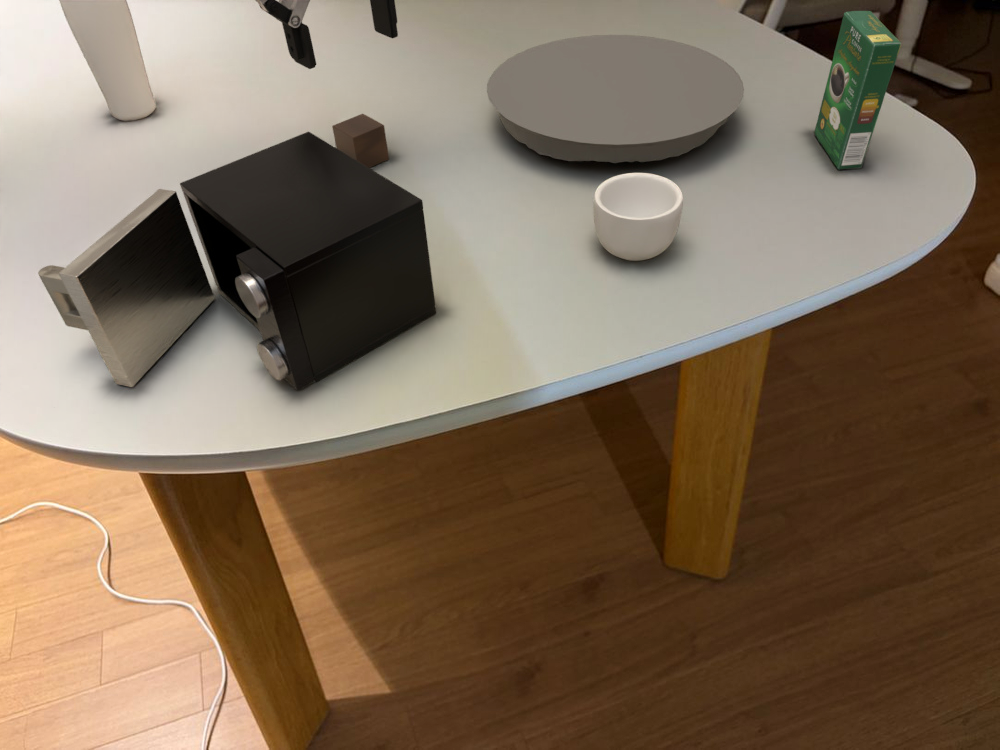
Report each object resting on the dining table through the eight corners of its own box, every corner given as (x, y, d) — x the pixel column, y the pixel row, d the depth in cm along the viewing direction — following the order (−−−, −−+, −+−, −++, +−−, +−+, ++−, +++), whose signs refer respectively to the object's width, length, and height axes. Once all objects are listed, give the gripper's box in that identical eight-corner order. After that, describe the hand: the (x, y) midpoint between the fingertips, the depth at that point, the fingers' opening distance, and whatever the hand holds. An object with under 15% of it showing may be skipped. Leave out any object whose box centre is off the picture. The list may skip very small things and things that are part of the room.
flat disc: (514, 65, 104) (513, 30, 101) (736, 75, 99) (742, 39, 96) (463, 175, 84) (460, 135, 81) (737, 194, 79) (745, 153, 76)
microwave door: (56, 370, 64) (-7, 260, 57) (145, 285, 72) (99, 179, 65) (132, 387, 62) (76, 276, 55) (215, 298, 70) (176, 191, 63)
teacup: (654, 281, 69) (660, 229, 66) (576, 256, 73) (578, 205, 69) (698, 225, 75) (706, 174, 72) (624, 204, 79) (628, 154, 75)
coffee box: (865, 170, 81) (904, 40, 72) (837, 172, 81) (872, 42, 72) (838, 133, 87) (871, 8, 78) (812, 134, 87) (842, 10, 78)
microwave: (289, 398, 61) (252, 282, 53) (193, 305, 70) (150, 194, 62) (436, 313, 68) (422, 199, 60) (332, 238, 77) (308, 131, 69)
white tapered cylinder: (170, 114, 98) (126, -16, 87) (114, 130, 95) (61, -2, 85) (154, 95, 102) (109, -31, 92) (100, 111, 99) (48, -18, 89)
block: (359, 172, 85) (353, 138, 83) (338, 160, 88) (331, 125, 85) (389, 159, 87) (384, 124, 85) (368, 147, 90) (362, 113, 87)
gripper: (368, -177, 73) (394, 15, 85) (195, -140, 66) (251, 66, 77) (417, -169, 69) (438, 33, 81) (239, -128, 61) (291, 88, 73)
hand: (347, 49), depth 79 cm, fingers open, 9 cm apart
